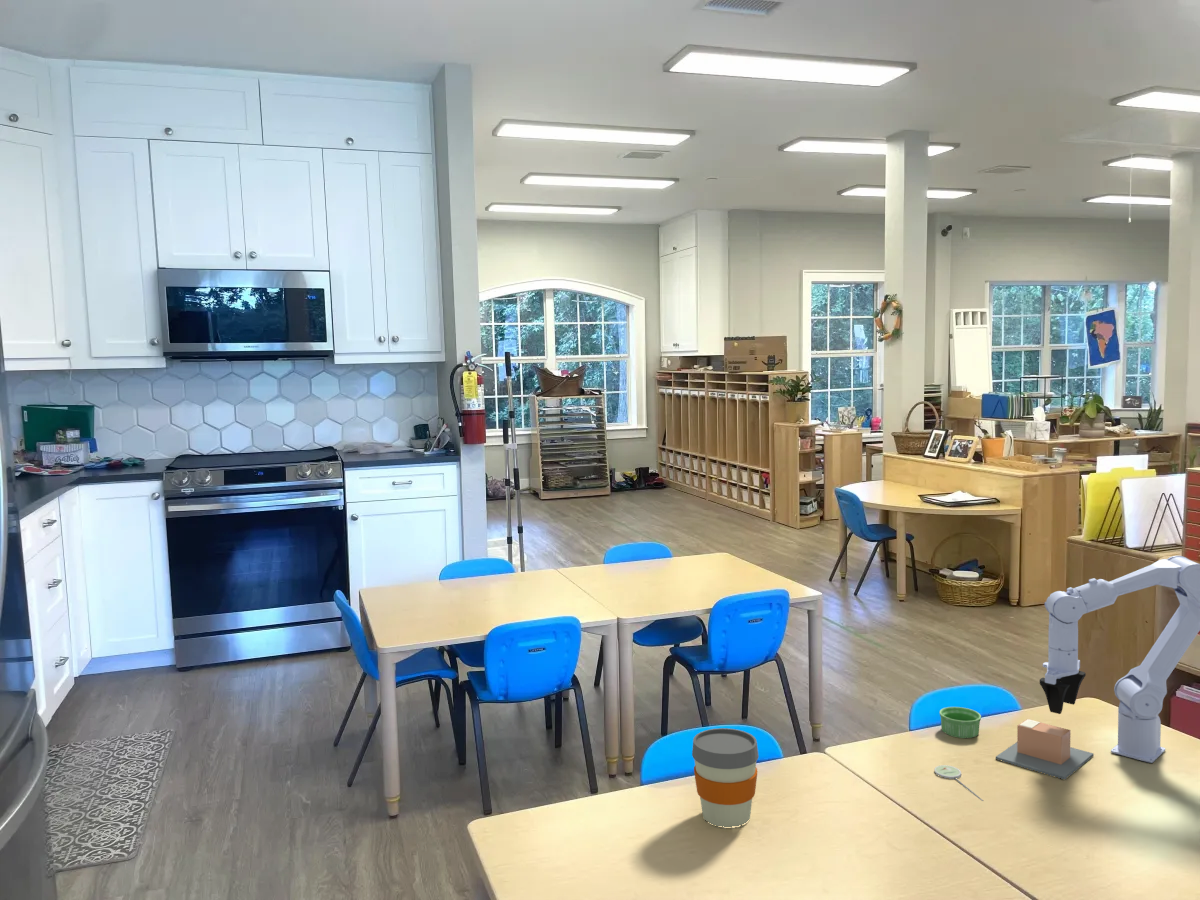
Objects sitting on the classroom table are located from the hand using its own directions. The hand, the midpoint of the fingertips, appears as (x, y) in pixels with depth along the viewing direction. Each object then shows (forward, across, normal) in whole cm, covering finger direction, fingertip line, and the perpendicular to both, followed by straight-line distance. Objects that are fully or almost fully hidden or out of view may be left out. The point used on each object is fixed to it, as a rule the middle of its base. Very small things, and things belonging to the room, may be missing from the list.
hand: (1062, 707), depth 191 cm
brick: (+9, +7, -1) cm, 11 cm away
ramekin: (+10, +6, -20) cm, 23 cm away
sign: (+10, +31, -8) cm, 34 cm away
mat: (+9, +7, -1) cm, 12 cm away
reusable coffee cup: (+10, +75, -33) cm, 82 cm away
